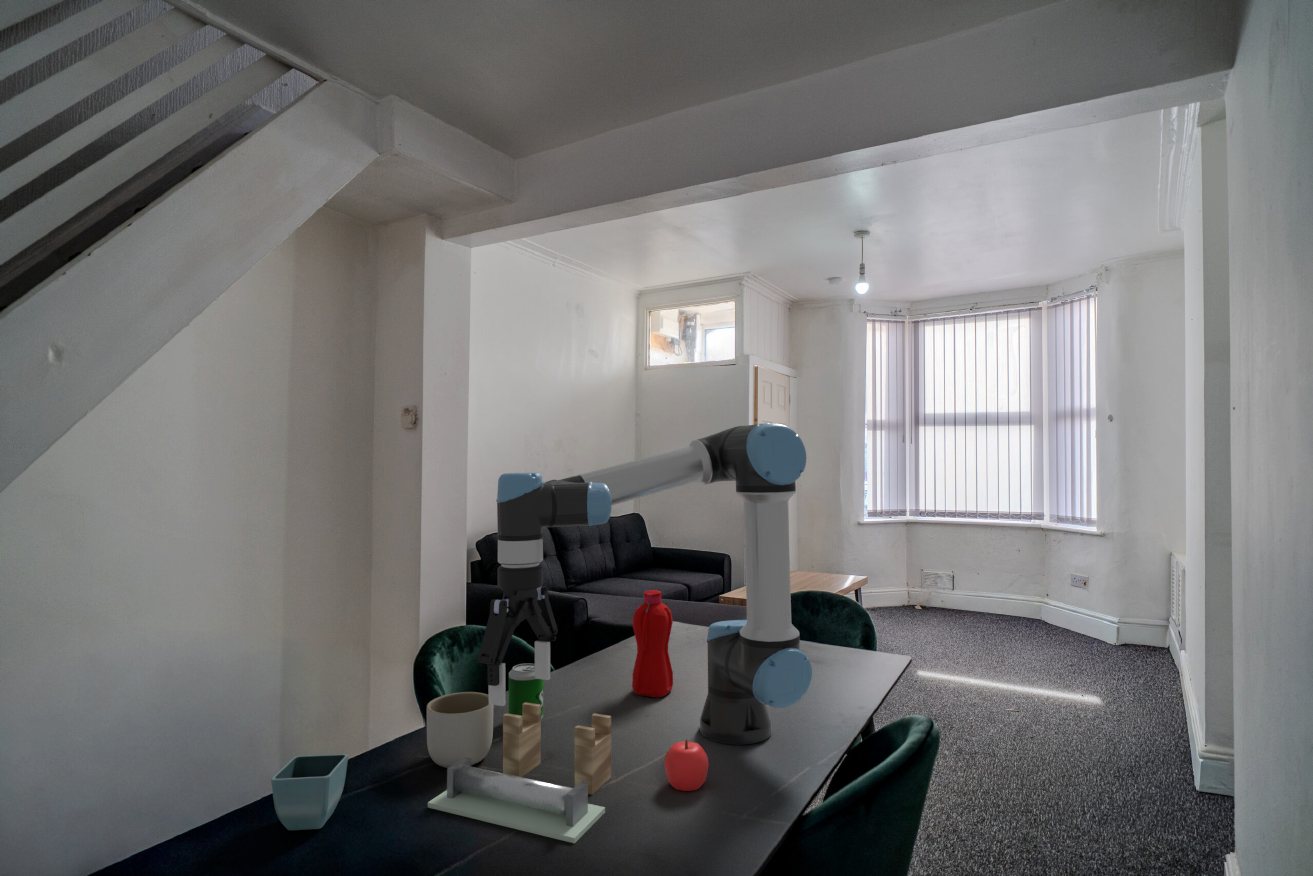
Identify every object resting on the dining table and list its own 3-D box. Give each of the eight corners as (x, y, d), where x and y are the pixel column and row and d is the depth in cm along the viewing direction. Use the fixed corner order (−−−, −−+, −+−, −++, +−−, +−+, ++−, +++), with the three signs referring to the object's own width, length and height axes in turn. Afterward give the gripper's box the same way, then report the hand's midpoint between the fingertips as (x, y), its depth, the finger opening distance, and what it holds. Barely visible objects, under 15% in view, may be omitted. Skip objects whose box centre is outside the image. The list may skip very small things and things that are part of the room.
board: (605, 812, 114) (605, 807, 114) (574, 843, 104) (574, 838, 104) (466, 781, 125) (466, 777, 125) (427, 807, 115) (427, 802, 115)
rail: (587, 812, 112) (587, 782, 112) (572, 827, 108) (572, 795, 108) (465, 785, 122) (465, 757, 122) (447, 797, 117) (447, 768, 117)
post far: (540, 763, 132) (540, 704, 132) (519, 779, 125) (519, 717, 126) (525, 760, 133) (525, 702, 134) (502, 776, 127) (503, 715, 127)
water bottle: (625, 698, 168) (625, 594, 169) (643, 684, 178) (642, 586, 179) (660, 702, 165) (660, 596, 165) (676, 688, 175) (676, 588, 176)
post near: (611, 777, 126) (611, 716, 126) (592, 794, 120) (592, 730, 120) (594, 773, 128) (594, 713, 128) (574, 791, 121) (574, 727, 121)
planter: (432, 780, 125) (432, 718, 126) (421, 754, 136) (421, 698, 137) (500, 765, 131) (500, 707, 131) (484, 742, 142) (484, 688, 142)
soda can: (535, 730, 148) (535, 673, 149) (502, 727, 150) (503, 671, 150) (548, 717, 156) (548, 663, 156) (516, 715, 157) (516, 661, 157)
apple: (664, 775, 127) (664, 731, 127) (708, 775, 127) (707, 731, 127) (663, 796, 119) (663, 749, 119) (710, 797, 119) (709, 749, 119)
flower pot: (293, 810, 115) (294, 755, 115) (348, 807, 115) (349, 753, 116) (268, 839, 106) (269, 779, 106) (328, 836, 107) (329, 777, 107)
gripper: (540, 553, 130) (541, 667, 129) (454, 574, 107) (454, 713, 106) (575, 555, 127) (576, 671, 127) (494, 577, 104) (495, 720, 104)
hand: (521, 691), depth 117 cm, fingers open, 13 cm apart
